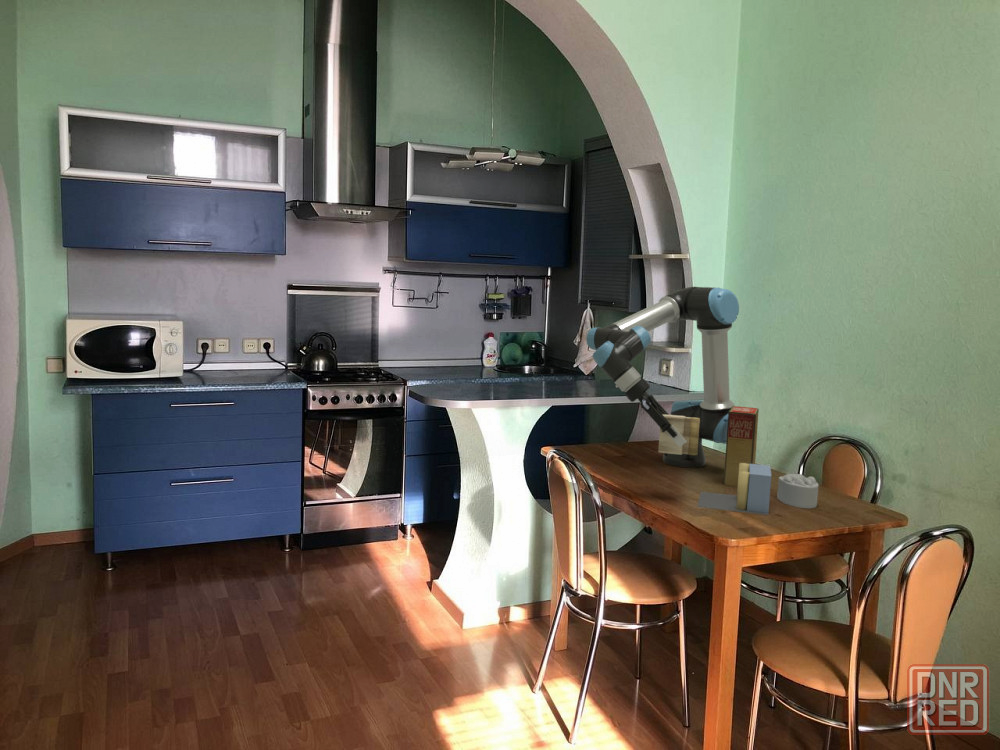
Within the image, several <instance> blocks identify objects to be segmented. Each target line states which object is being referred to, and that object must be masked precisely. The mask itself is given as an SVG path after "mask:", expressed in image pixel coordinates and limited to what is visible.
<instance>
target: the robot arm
mask: <svg viewBox="0 0 1000 750" xmlns="http://www.w3.org/2000/svg"><path fill="white" fill-rule="evenodd" d="M739 305H740V303H739V301H738V298H737V296H736V294H734V293H733V291H732V290H730V289H728V288H723V287H722V288H721V287H708V286H689V287H684V288H682V289H679V290H675V291H674V292H672V293H669V294H667V295H665V296H663V297H661V298H660V299H659V300H658V302H657V303H654V304H652V305H650V306H647V307H646V308H643V309H641V310H639V311H637V312H635V313H633V314H630V315H628V316H627V317H624V318H622V319H620V320H617V321H616V322H614V323H612V324H609V325H606V326H604V327H593V328H591V329H589V330H588V332H587V334H586V339H585V342H586V345H587V346H588V348H589V349H590V350H593V353H592V358H593V360H594V362H596V364H597V365H598V367H599V368H600V369H602V371H603V372H604V373H605V374H606V375H607V377H608V378H610V380H611V381H612V382H613V383H614V384H615V388H616V389H618V388H619V390H620V391H621V392H624V395H625V397H626V398H627V399H628V400H629V401H630V402H631V403H633V402H635V401H636V400H638V401H639V402H640V407H641V408H642V409H643V411H645V412H646V413H647V414H648V415H649V417H650V418H651V419H652V420H653V421H654V422H655V423H656V424H657V426H658V427H659V429H660V428H661V429H662V432H666V433H667V434H668V435H669V436H670V437H671V438H672V439H673V441H674V442H675V443H676V444H677V445H678V446H679V447H681V446H682V445H683V444H685V443H686V442H687V441H686V440H685V439H684V438H683V437H682V435H681V434H680V433H679V432H678V431H677V430H676V429H675V428H674V427H673V425H672V426H671V424H670V423H669V422H668V421H667V420H666V418H665V417H664V416H663V415H662V414H664V415H677V416H685V417H694V418H700V424H699V439H698V454H697V455H689V454H682V455H679V454H669V453H663V457H662V462H663V463H664V464H667V465H670V466H674V467H682V468H700V467H704V466H705V465H706V460H707V459H706V455H705V451H704V446H703V440H705V441H710V442H713V443H716V444H724V445H725V444H726V442H727V427H728V412H729V410H730V409H731V408H732V406H735V403H734V402H733V400H731V399H730V373H729V371H730V369H729V340H728V339H729V338H728V335H729V333H728V332H729V331H730V330H731V329H732V328H733V323H734V322H736V320H737V319H738V316H739V313H740V306H739ZM679 321H695V322H696V329H697V330H698V331H699V332H700V333H701V351H702V352H701V354H702V377H703V378H702V379H703V400H702V399H701V400H700V399H688V400H687V399H685V400H683V399H682V400H676V401H673V402H672V404H671V410H670V414H669V413H668V412H667V411H666V410H665V408H664V407H663V406H662V405H661V404H660V402H658V401H657V400H656V398H655V397H654V395H652V394H649V393H648V392H647V391H648V390H649V389H650V387H651V386H650V384H649V383H648V382H647V381H646V380H645V378H642V374H640V373H639V372H638V370H636V368H635V367H634V366H633V365H632V364H631V363H630V362H631V361H632V360H634V359H635V358H636V357H638V355H640V354H641V353H643V352H644V351H645V349H646V348H648V346H649V345H650V344H651V342H652V339H651V336H650V335H651V334H650V333H649V332H650V331H652V330H655V329H656V328H659V327H661V326H663V325H665V324H667V323H669V324H674V323H677V322H679Z"/></svg>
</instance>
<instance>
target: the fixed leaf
mask: <svg viewBox="0 0 1000 750" xmlns="http://www.w3.org/2000/svg"><path fill="white" fill-rule="evenodd" d="M771 485H772V470H771V465H769V464H758V463H755V464H747V463H740V464H739V476H738V486H737V487H736V488H737V489H736V496H737V505H736V508H737V509H739V510H747V511H755V512H763V513H768V514H769V511H770V510H769V509H770V498H771V487H772V486H771Z"/></svg>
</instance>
